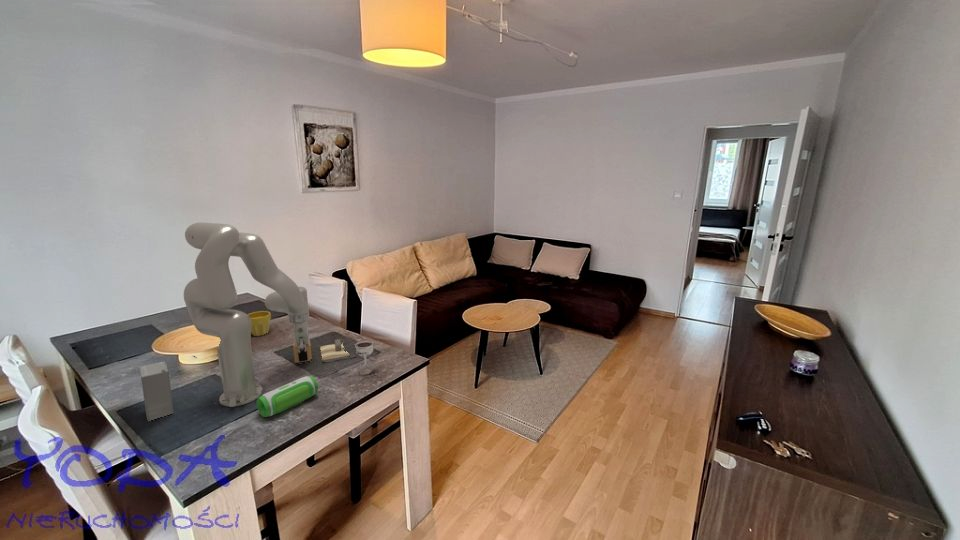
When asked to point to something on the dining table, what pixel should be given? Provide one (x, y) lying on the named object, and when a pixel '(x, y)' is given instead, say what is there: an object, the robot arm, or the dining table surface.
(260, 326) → the plant pot
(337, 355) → the holder
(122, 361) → the dining table surface
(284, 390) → the speaker
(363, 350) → the wineglass
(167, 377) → the skincare box
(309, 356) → the tan block
